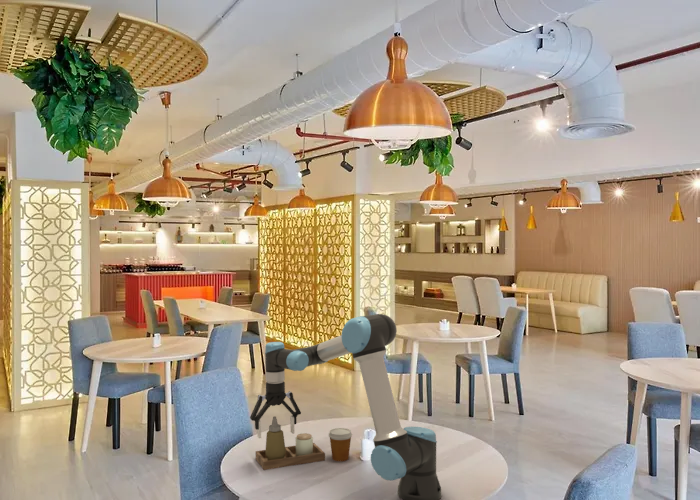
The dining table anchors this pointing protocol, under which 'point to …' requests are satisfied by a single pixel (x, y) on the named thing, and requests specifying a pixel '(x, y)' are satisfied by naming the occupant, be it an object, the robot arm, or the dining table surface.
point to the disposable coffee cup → (340, 443)
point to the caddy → (290, 458)
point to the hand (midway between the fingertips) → (276, 435)
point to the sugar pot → (304, 444)
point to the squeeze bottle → (275, 441)
